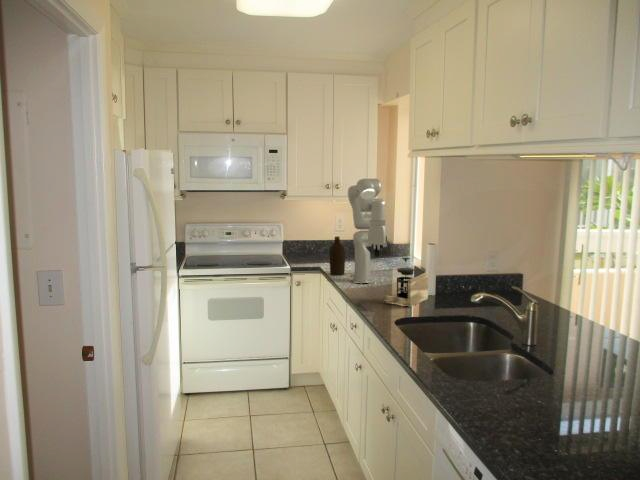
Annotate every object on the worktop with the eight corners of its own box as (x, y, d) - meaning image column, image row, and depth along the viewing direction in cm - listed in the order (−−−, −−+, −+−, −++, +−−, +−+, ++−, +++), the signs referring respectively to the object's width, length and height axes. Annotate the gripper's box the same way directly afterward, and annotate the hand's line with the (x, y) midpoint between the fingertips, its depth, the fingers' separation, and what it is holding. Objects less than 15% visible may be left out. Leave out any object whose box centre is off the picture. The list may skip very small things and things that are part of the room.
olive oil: (336, 276, 316) (336, 238, 312) (326, 274, 324) (325, 236, 320) (348, 274, 322) (348, 236, 319) (338, 271, 330) (337, 235, 327)
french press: (398, 304, 251) (399, 260, 247) (392, 299, 260) (392, 256, 256) (420, 302, 253) (421, 258, 250) (412, 297, 262) (413, 255, 259)
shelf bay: (383, 303, 252) (384, 276, 250) (402, 294, 269) (402, 269, 267) (410, 307, 244) (410, 280, 242) (427, 298, 260) (428, 272, 258)
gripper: (362, 222, 262) (362, 256, 265) (387, 225, 253) (386, 259, 257) (369, 221, 268) (369, 253, 271) (394, 223, 259) (393, 257, 263)
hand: (377, 256), depth 264 cm, fingers closed
